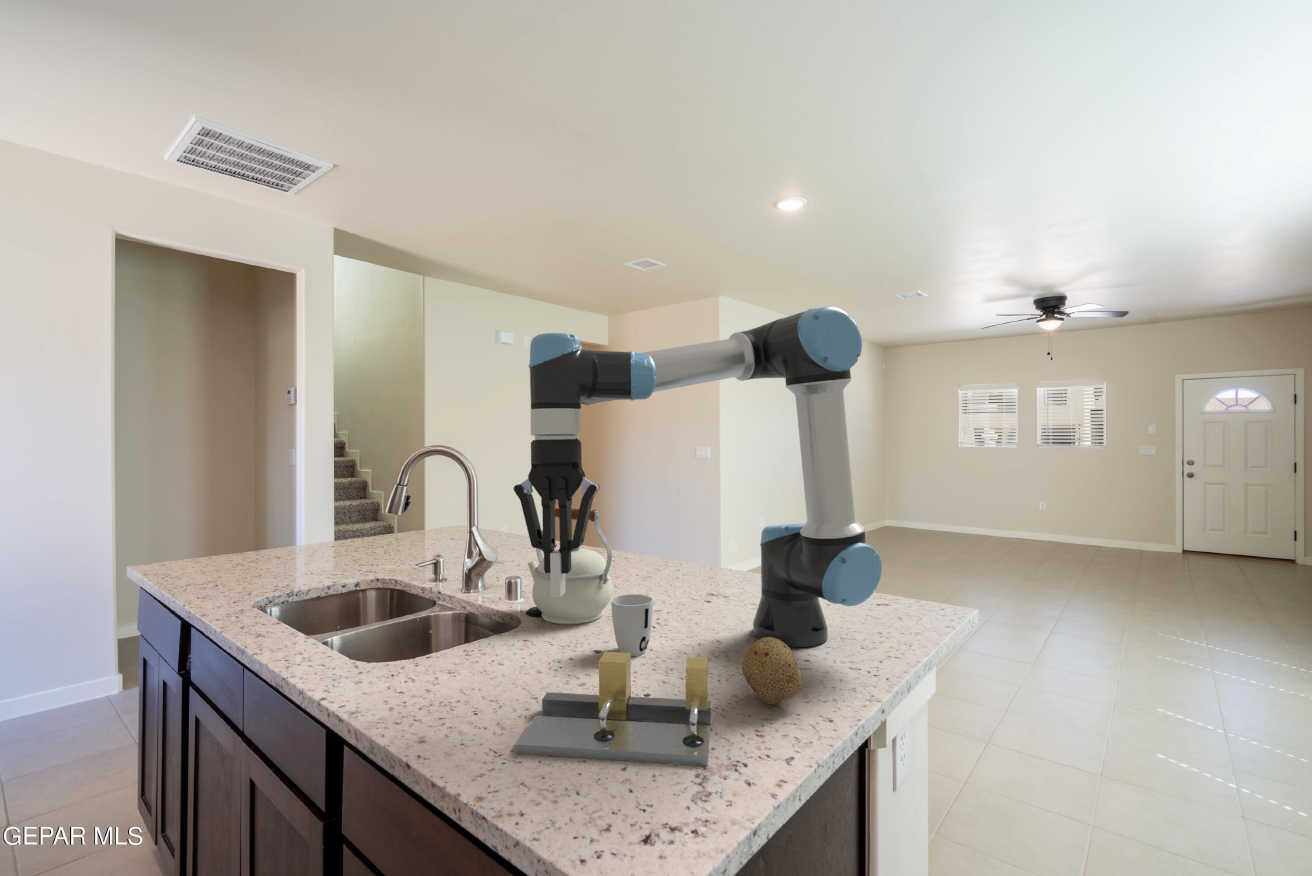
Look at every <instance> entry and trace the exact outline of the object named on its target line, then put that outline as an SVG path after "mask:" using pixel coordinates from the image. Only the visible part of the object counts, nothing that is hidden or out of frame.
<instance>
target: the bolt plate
mask: <svg viewBox="0 0 1312 876" xmlns="http://www.w3.org/2000/svg"><path fill="white" fill-rule="evenodd" d="M710 736H711V726H710V725H705V724H696V739H695V740H692V739H690V724H688V723H670V722H653V721H635V720H614V719H606V734H600V719H599V718H582V717H564V716H547V715H536V716H535V717H534V718H533V719H532V722H531V723H529V725H528V727H527V728H526V730H525V731H524V733H523V734H522V736H521V737H520V739H519V740H518V741H517V743H515V744H516V745H515V746H516V751H515V752H516V754H518V755H519V754H521V755H533V756H534V755H538V756H550V757H552V756H553V757H567V758H581V759H597V760H599V759H600V760H610V761H611V760H612V761H625V762H627V761H628V762H631V761H632V762H643V763H644V762H645V763H659V764H673V765H688V766H689V765H691V766H705V767H708V766H709V765H708V763H709V749H710V738H711V737H710Z"/></svg>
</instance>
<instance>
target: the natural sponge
mask: <svg viewBox="0 0 1312 876" xmlns="http://www.w3.org/2000/svg"><path fill="white" fill-rule="evenodd" d="M741 671H742V675H743V678H744V679H745V681H746V682H747V685H748V686H749V688H750V689H751V690H752V692H753V693H754V695H755V696H756V698H758V699H759V700H760V701H762V702H763V703H765V704H767V705H778V704H780V703H781V702H783V701H784V700H788V699H791V698H794V697H795V696H796V695H798V694H799V693H800V691H801V689H802V674H801V671H800V666H799V664H798V661H797V658H796V656H795V653H794V652H793V649H791V648H790V647H788V646H787V645H786V644H785V643H784V642H782V641H781V640H779V639H776V638H772V637H765V638H762V639H758V640H756V641H755V642H753V643H752V644H751V645H750V646H749V647H748V648H747V649H746V651H745V652H744V655H743V658H742V660H741Z"/></svg>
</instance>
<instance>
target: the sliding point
mask: <svg viewBox="0 0 1312 876" xmlns="http://www.w3.org/2000/svg"><path fill="white" fill-rule="evenodd" d="M631 657H632V656H631V653H622V652H619V651H616V652H615V651H604V653H603V654H602V655H601V658H600V659H599V661H598V695H599V718H598V719H599V720H600V734H606V720H616V721H627V720H626V718H627V701H628V698H629V697H632V685H631V684H632V683H631V680H632V678H631V673H632V672H631V671H632V669H631V665H632V664H631V663H632V661H631V659H632V658H631Z"/></svg>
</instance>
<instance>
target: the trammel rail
mask: <svg viewBox="0 0 1312 876" xmlns="http://www.w3.org/2000/svg"><path fill="white" fill-rule="evenodd" d="M708 663H709V659H708V657H692V656H691V657H689V656H688V657H687V660H686V664H685V699H683V698H665V697H664V698H662V697H647V696H646V697H645V696H644V697H642V696H631V697H629V698H628V701H627V718H626V720H625V721H634V722H652V723H669V724H687V725H690V739H692V740H695V739H696V725H704V726H710V725H711V724H712V723H711V722H712V700H709V686H708V685H709V665H708ZM541 703H542V705H541V716H546V717H564V718H581V719H599V694H588V693H587V694H586V693H571V692H570V693H567V692H566V693H565V692H548V691H547V692H546V693H545V694H544V695H543V697H542V699H541Z"/></svg>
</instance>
